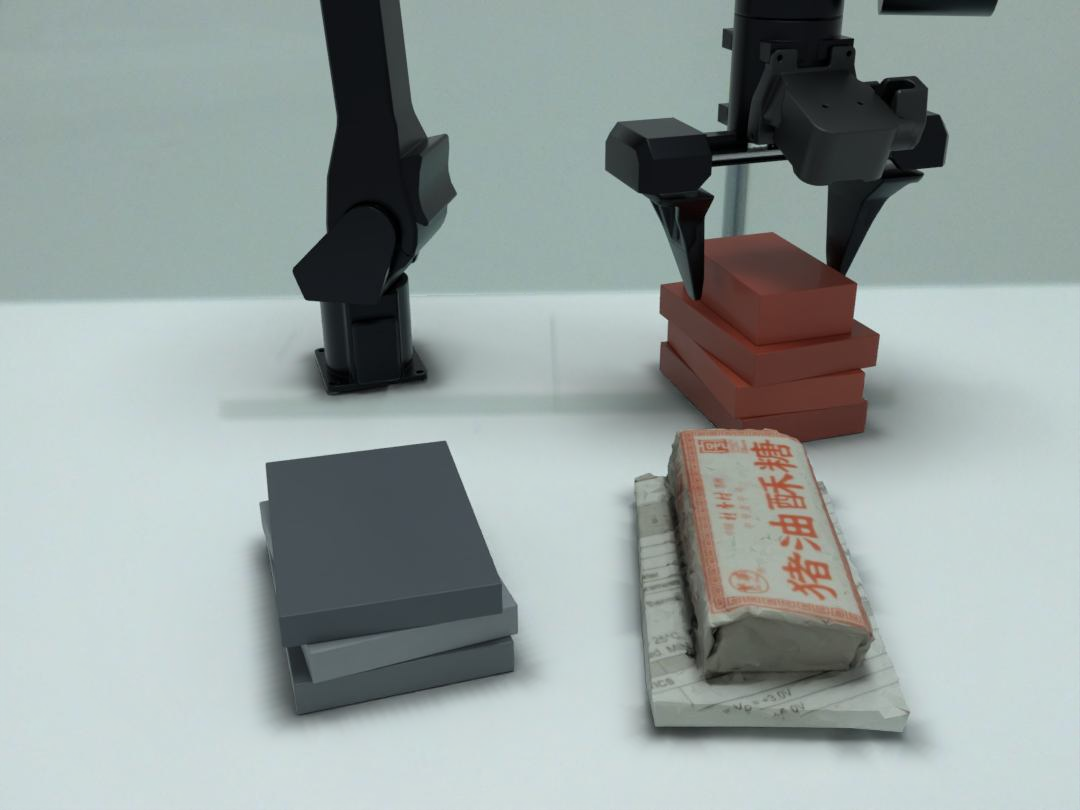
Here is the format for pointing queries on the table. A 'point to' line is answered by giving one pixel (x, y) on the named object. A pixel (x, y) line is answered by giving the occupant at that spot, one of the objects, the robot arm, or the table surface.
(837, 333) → the rust red block
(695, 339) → the rust book pile
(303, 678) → the grey book pile
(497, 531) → the table surface
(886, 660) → the packaged product
